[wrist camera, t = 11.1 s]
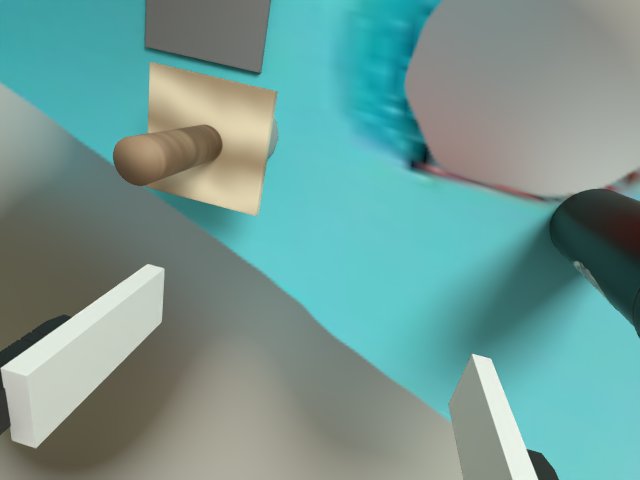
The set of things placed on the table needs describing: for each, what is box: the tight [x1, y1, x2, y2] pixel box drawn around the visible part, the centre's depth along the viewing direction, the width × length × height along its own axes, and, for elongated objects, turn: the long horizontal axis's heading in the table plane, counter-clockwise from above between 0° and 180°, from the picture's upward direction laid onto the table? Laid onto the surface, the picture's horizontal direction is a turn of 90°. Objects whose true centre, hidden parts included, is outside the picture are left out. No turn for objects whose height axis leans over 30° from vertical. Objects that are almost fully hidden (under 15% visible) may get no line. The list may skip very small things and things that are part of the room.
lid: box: [113, 62, 278, 216], centre depth 32 cm, size 12×12×12 cm
